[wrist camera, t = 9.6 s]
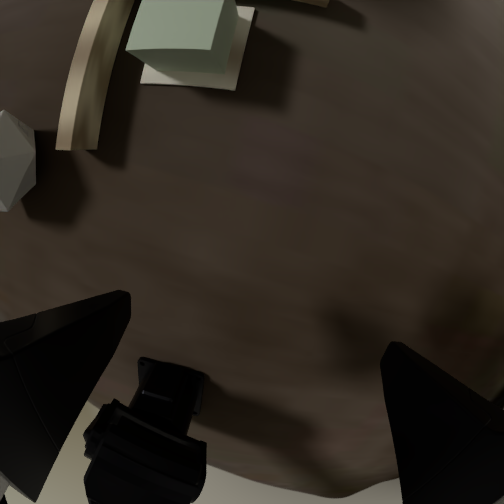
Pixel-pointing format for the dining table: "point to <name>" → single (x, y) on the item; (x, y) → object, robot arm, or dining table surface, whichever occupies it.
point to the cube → (184, 34)
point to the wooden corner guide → (101, 64)
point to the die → (15, 160)
